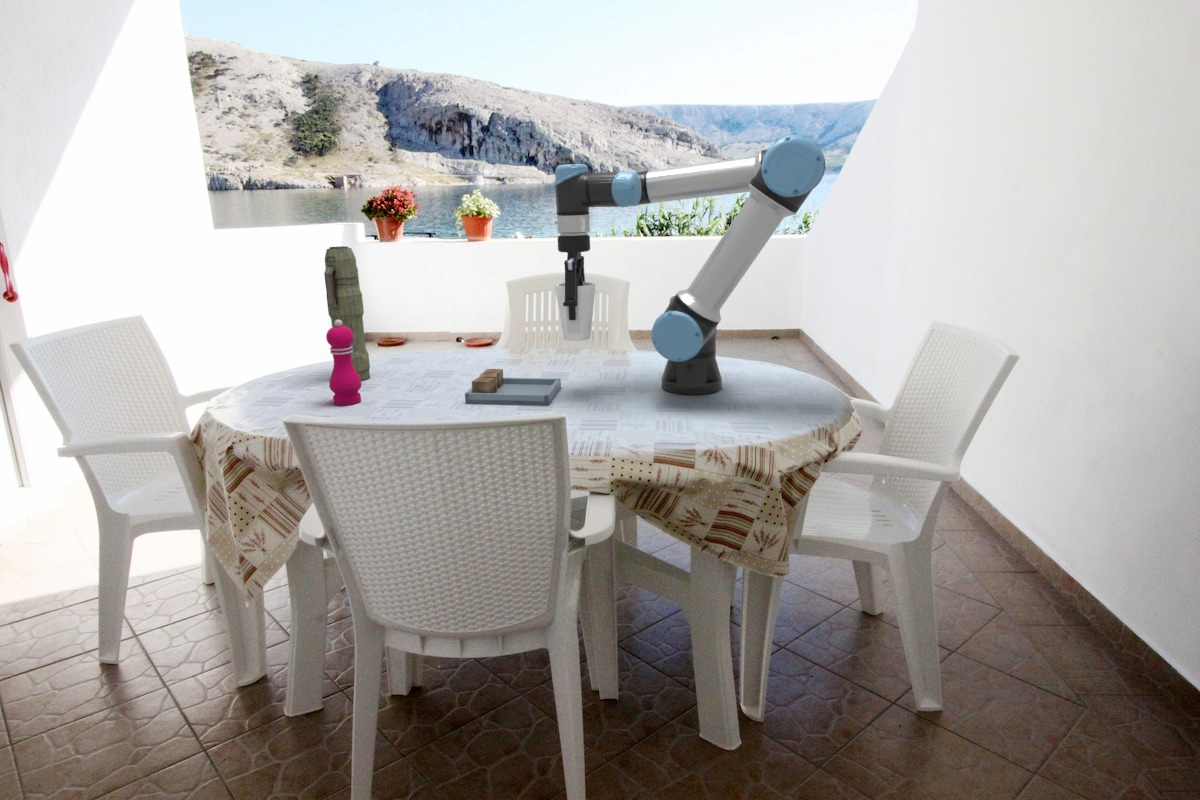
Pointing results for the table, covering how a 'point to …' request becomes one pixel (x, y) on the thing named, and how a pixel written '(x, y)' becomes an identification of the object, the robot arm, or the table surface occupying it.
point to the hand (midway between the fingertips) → (576, 329)
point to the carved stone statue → (347, 302)
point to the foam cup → (585, 310)
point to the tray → (519, 392)
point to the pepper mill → (343, 366)
